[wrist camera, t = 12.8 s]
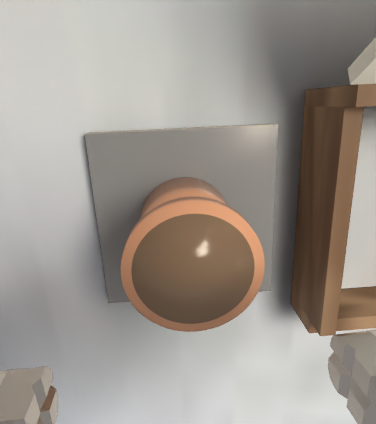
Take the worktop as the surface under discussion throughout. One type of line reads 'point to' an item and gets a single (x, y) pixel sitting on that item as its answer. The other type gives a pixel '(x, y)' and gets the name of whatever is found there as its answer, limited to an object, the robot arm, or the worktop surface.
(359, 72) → the cold frame lid
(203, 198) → the terracotta pot
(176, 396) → the worktop surface
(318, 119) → the frame
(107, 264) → the slate tile
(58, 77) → the worktop surface
